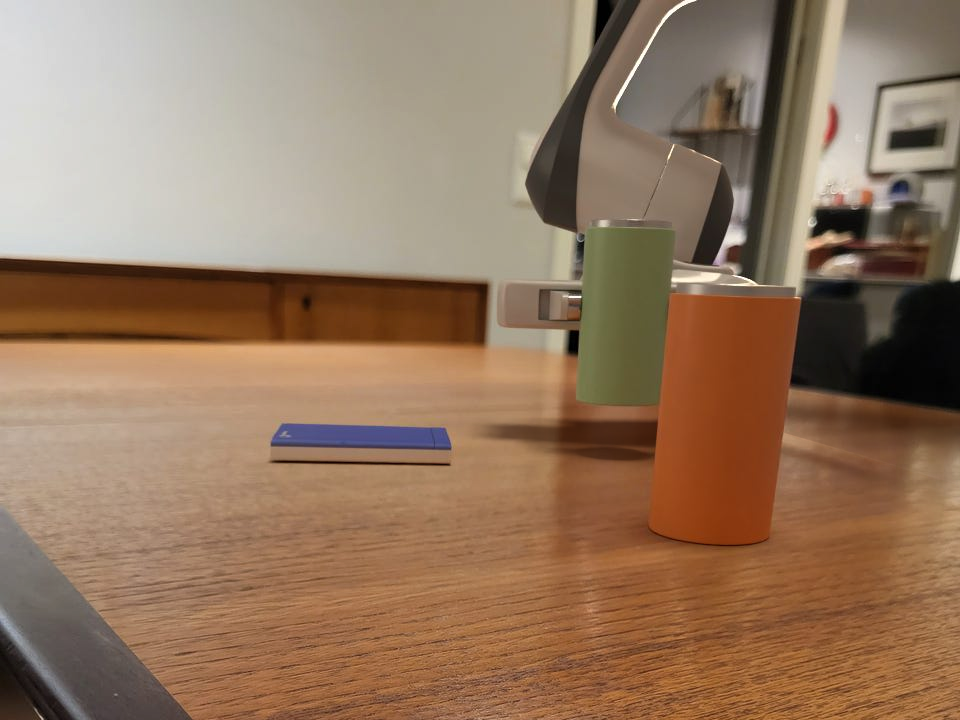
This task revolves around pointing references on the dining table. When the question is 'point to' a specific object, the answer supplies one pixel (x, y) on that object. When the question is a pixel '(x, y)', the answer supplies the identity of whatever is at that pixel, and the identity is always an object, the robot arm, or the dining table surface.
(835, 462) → the dining table surface
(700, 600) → the dining table surface
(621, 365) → the green can
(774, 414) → the orange can
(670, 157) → the robot arm
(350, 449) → the hard drive
